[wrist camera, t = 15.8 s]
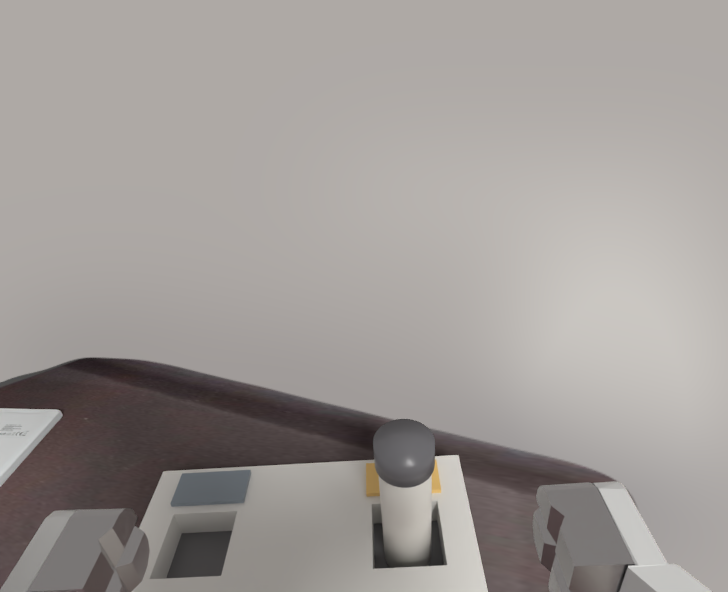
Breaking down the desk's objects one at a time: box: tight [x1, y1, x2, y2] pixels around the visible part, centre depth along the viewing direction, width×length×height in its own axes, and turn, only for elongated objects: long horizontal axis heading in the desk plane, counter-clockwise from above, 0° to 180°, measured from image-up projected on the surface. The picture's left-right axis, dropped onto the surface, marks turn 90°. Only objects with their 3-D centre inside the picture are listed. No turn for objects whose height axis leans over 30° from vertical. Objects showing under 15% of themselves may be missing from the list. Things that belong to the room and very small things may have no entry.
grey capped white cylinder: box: [373, 419, 435, 568], centre depth 35 cm, size 4×4×12 cm
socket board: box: [132, 455, 488, 592], centre depth 38 cm, size 26×12×3 cm, turn 90°
